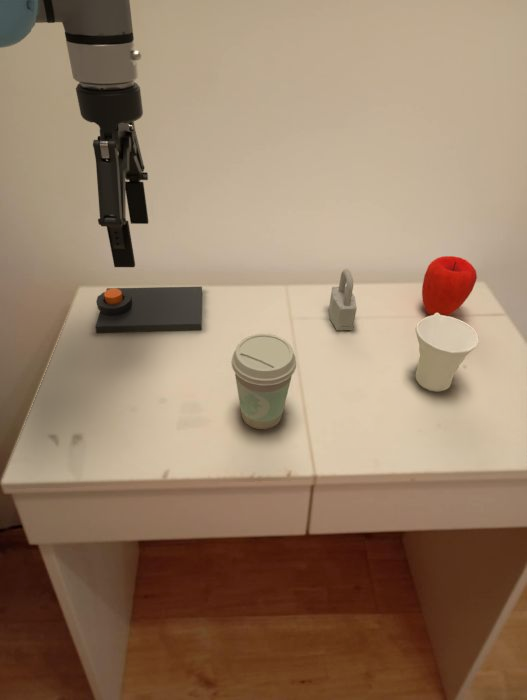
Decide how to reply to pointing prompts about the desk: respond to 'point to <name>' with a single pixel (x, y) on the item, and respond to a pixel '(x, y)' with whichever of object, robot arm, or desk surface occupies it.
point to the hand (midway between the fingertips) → (132, 243)
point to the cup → (442, 349)
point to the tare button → (113, 296)
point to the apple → (447, 284)
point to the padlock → (343, 303)
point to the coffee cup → (263, 378)
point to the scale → (151, 310)
